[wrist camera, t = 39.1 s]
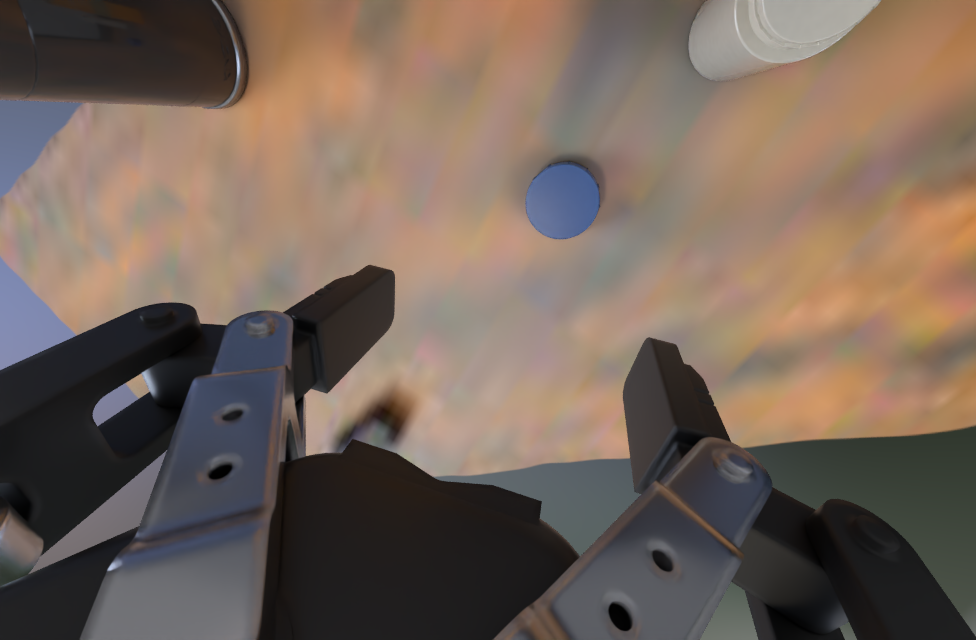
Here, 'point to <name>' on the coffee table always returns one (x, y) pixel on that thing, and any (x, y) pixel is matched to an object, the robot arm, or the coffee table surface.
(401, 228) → the coffee table surface
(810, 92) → the coffee table surface
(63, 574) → the robot arm
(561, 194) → the lid
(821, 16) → the jar
